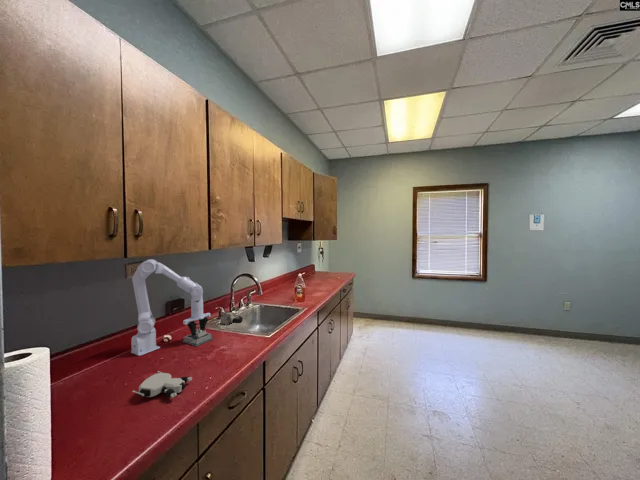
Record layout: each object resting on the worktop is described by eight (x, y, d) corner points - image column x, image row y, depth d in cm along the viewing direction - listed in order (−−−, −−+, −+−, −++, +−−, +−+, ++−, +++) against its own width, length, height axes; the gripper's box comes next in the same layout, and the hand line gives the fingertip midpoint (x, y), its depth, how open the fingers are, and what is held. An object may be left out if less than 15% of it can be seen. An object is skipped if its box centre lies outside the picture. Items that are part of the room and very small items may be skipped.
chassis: (196, 346, 126) (196, 341, 126) (182, 342, 132) (182, 336, 132) (213, 339, 134) (213, 334, 134) (199, 335, 140) (199, 330, 140)
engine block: (198, 342, 129) (198, 332, 129) (191, 339, 132) (191, 330, 132) (206, 338, 133) (205, 329, 133) (199, 336, 136) (198, 327, 136)
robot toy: (194, 384, 95) (156, 380, 96) (194, 372, 95) (156, 369, 96) (173, 406, 83) (130, 402, 84) (174, 393, 83) (130, 388, 83)
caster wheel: (243, 325, 163) (234, 328, 153) (229, 319, 166) (219, 322, 157) (246, 314, 163) (236, 317, 154) (232, 309, 167) (222, 312, 157)
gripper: (189, 313, 124) (189, 340, 125) (214, 305, 137) (214, 330, 137) (180, 311, 128) (181, 337, 128) (205, 304, 141) (206, 328, 141)
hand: (197, 333), depth 133 cm, fingers closed on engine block, 4 cm apart
